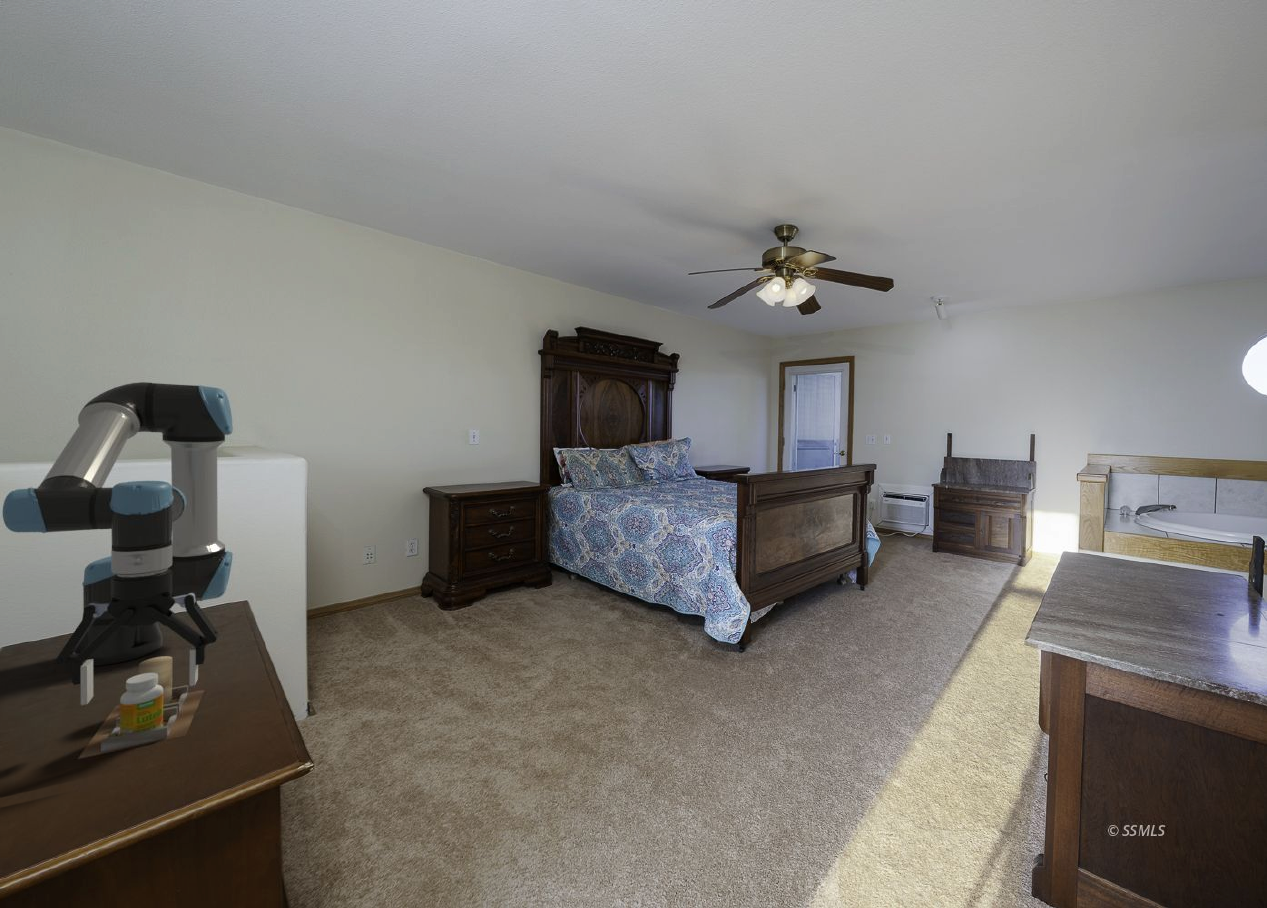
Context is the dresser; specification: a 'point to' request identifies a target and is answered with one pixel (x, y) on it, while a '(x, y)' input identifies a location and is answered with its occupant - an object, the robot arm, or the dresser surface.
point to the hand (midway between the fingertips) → (142, 691)
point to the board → (174, 726)
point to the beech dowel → (160, 674)
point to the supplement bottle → (141, 704)
